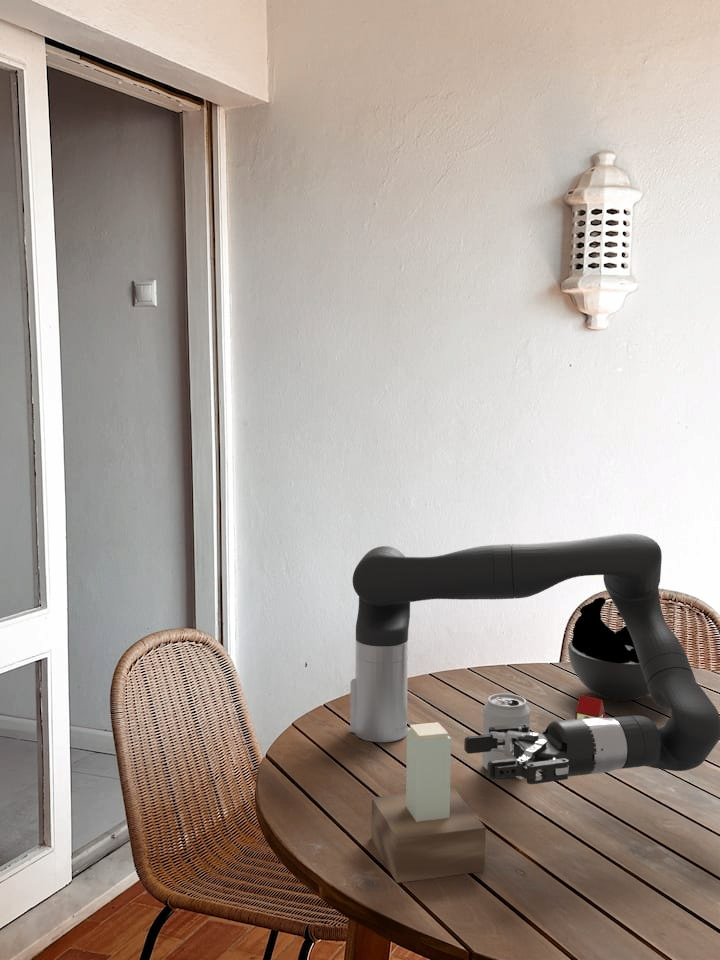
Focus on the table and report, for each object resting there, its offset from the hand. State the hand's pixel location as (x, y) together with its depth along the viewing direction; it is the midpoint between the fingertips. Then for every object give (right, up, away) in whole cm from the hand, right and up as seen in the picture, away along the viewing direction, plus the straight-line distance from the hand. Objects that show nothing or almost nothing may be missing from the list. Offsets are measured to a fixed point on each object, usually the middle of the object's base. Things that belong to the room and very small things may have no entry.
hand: (476, 757), depth 133 cm
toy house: (+25, -8, +43) cm, 50 cm away
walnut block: (-7, -13, 0) cm, 15 cm away
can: (+8, -10, +27) cm, 30 cm away
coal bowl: (+35, -6, +62) cm, 71 cm away
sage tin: (-7, -7, -1) cm, 10 cm away
